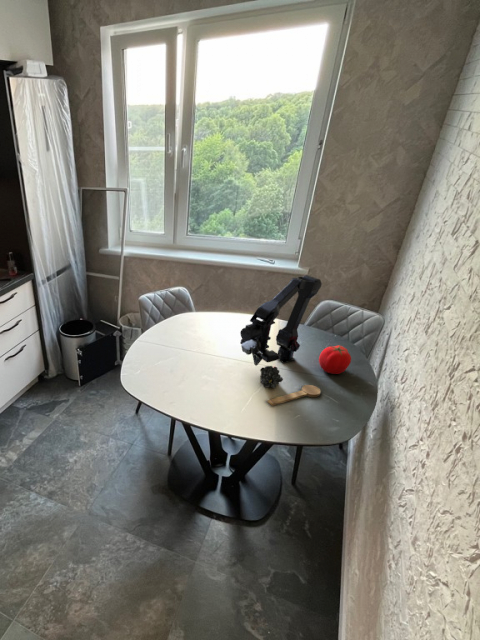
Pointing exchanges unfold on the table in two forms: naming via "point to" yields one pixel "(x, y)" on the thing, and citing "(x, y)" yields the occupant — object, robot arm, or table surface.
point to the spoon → (297, 395)
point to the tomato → (334, 359)
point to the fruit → (270, 376)
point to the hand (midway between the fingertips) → (255, 364)
